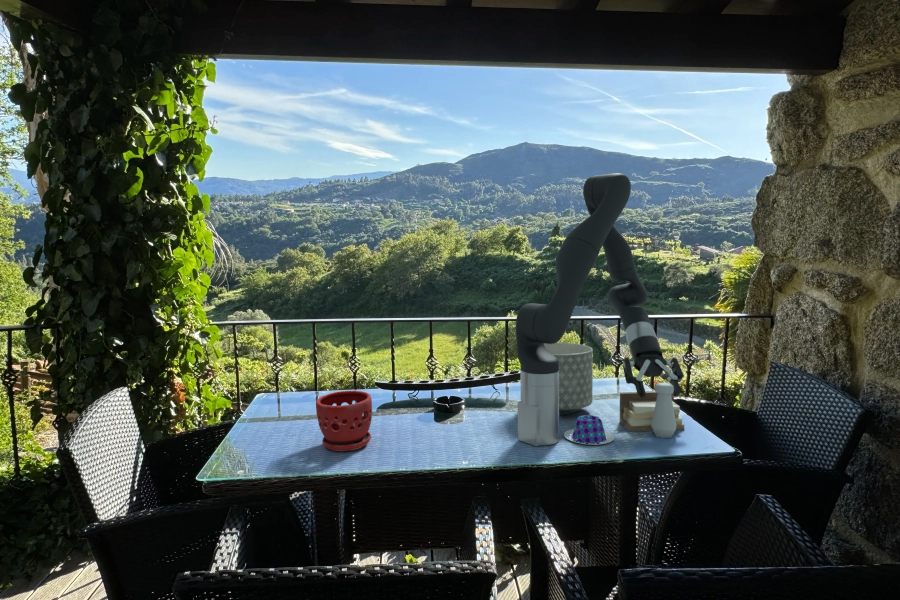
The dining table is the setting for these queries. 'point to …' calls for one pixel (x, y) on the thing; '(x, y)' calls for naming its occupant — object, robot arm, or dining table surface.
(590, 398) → the planter
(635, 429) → the offcut rack
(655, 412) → the salt shaker
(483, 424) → the dining table surface
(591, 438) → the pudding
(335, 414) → the plant pot
